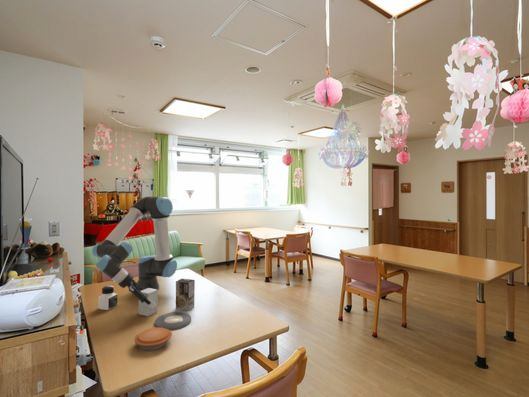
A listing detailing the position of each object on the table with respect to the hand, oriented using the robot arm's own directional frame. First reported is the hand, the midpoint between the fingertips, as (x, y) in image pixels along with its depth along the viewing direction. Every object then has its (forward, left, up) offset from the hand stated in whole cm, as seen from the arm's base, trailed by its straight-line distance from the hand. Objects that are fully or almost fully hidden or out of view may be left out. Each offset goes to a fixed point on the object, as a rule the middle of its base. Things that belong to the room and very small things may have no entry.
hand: (154, 303), depth 160 cm
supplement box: (+2, -2, -5) cm, 6 cm away
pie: (+30, +20, -5) cm, 36 cm away
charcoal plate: (+8, +17, -5) cm, 19 cm away
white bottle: (+1, -29, -5) cm, 30 cm away
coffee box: (-10, +14, -5) cm, 18 cm away
